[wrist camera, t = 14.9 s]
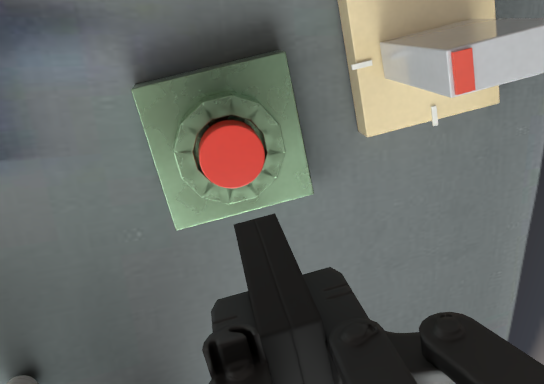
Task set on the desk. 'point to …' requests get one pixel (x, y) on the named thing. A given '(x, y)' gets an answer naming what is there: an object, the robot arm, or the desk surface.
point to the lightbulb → (22, 380)
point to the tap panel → (369, 68)
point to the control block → (214, 108)
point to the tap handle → (466, 55)
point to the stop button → (231, 154)
